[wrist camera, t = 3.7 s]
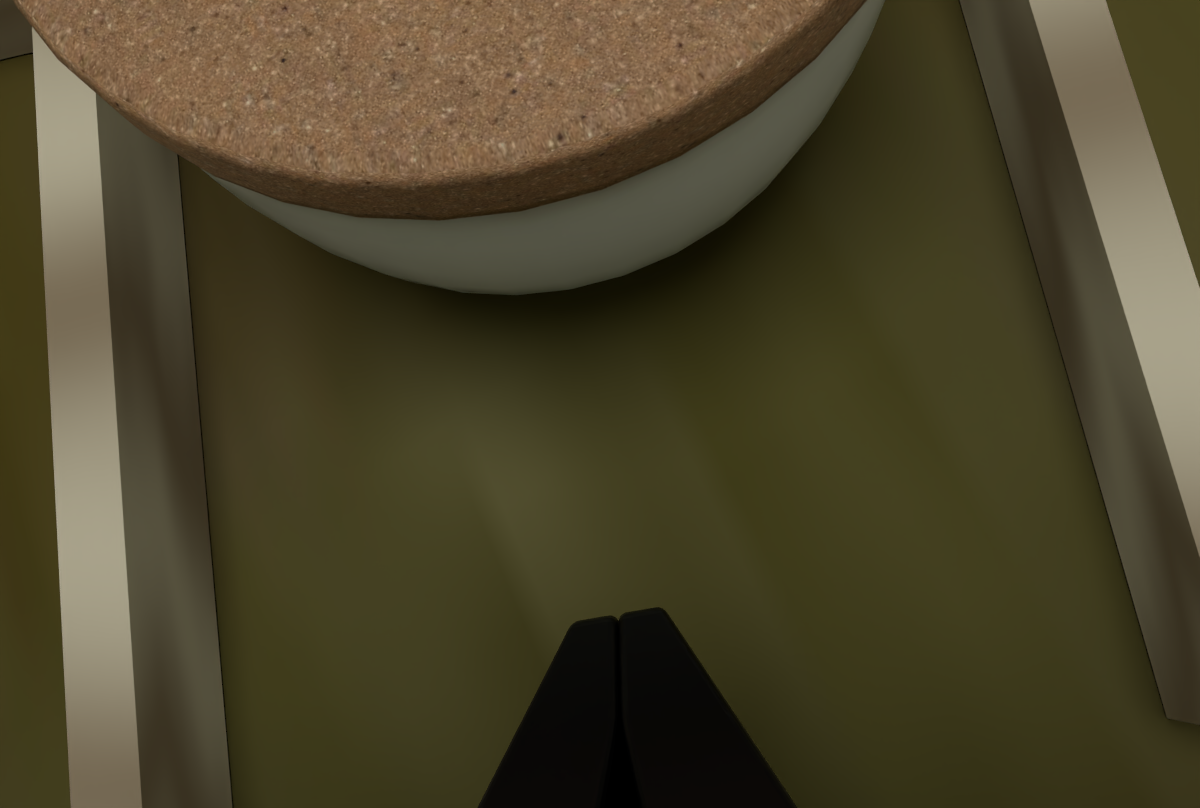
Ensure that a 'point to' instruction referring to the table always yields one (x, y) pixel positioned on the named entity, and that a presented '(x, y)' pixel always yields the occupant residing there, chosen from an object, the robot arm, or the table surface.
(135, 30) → the lidded jar
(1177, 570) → the trap lane
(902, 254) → the table surface
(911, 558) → the table surface
